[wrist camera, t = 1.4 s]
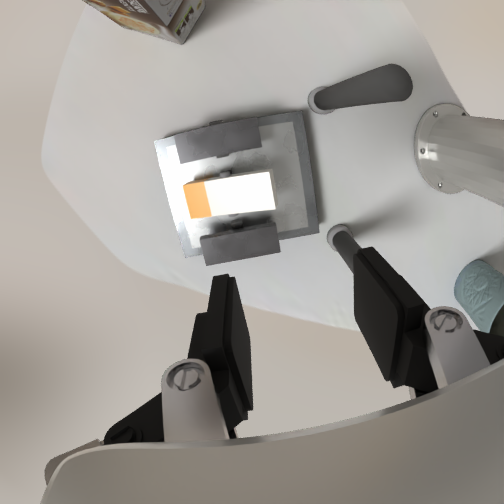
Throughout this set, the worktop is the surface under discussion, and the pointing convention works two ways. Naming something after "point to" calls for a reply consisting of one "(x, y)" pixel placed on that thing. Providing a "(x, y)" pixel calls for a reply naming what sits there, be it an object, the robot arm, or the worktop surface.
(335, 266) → the worktop surface
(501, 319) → the teal green cup
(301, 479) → the robot arm
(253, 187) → the block
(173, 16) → the coffee box
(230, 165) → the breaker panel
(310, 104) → the dark grey post
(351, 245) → the dark grey rod
